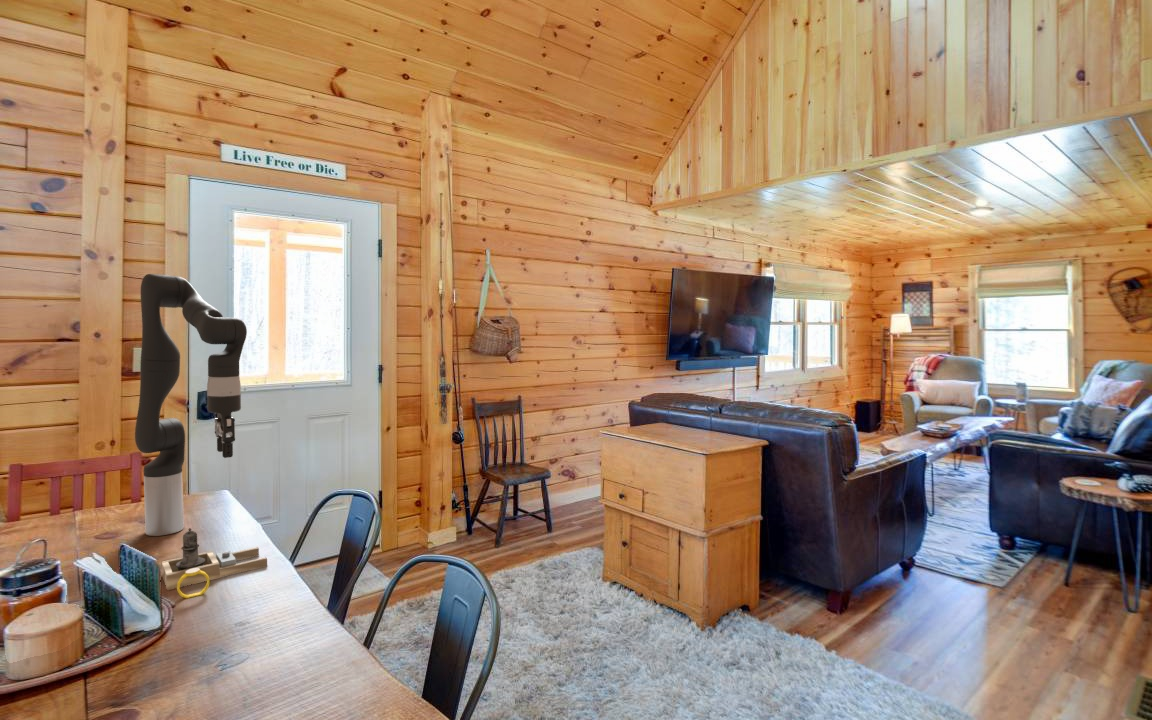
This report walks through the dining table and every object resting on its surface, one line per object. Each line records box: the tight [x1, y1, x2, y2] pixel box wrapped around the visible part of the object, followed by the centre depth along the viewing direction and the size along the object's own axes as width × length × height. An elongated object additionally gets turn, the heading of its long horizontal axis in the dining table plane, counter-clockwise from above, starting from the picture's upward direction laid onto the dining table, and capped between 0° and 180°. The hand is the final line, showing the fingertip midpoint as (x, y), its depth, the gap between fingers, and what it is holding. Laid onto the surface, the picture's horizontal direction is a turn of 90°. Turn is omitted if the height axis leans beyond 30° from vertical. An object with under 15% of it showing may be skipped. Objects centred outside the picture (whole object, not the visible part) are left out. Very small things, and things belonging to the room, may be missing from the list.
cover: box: [216, 550, 237, 568], centre depth 144 cm, size 7×3×4 cm, turn 41°
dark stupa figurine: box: [176, 527, 205, 571], centre depth 139 cm, size 6×6×12 cm
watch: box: [176, 568, 210, 599], centre depth 129 cm, size 6×3×6 cm, turn 128°
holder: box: [161, 546, 268, 591], centre depth 142 cm, size 10×21×4 cm, turn 131°
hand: (224, 454), depth 152 cm, fingers open, 8 cm apart
